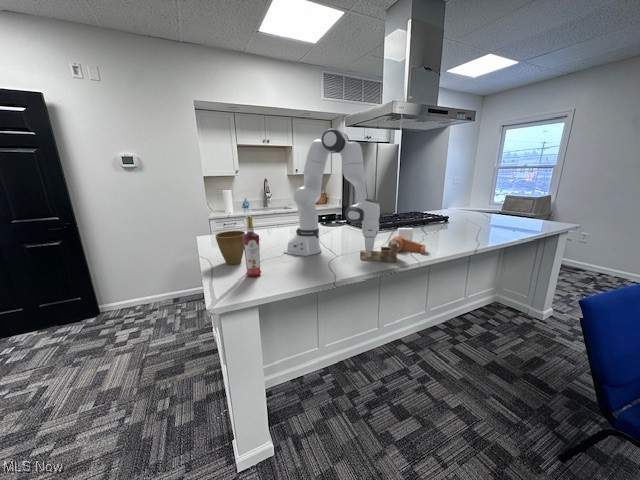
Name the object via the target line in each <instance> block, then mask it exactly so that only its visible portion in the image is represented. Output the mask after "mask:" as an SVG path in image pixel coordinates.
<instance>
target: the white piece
mask: <svg viewBox="0 0 640 480" xmlns="http://www.w3.org/2000/svg"><path fill="white" fill-rule="evenodd" d="M413 235H414V228H413V227H397V236H399V237H402V238H405V239H408V240H411V241H413ZM397 246H399V245H398V244H397Z"/></svg>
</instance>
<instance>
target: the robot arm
mask: <svg viewBox="0 0 640 480" xmlns="http://www.w3.org/2000/svg"><path fill="white" fill-rule="evenodd" d="M362 150H363V149H362V146H361V143H359V142H357V141H350V139H349V137H348V135H347V133H344V132H343V131H342V130H341V129H340V130H339V129H337V128H329V129H328V128H327V130H325V131H324V132H323V133H322V135H321V139H315V140H313V141H312V142H311V144H310V146H309V148H308V151H307V153H306V154H307V155H306V159H305V164H304V167H303V185H302V186H300V187H298V188H297V189H296V190H295V191H294V193H293V201H294V202H295V204H296V209H297V211H298V212H297V214H298V220H299V222H298V223H299V227H298V228H297V229H296V230H295V233H296V234H295V235H294V236H293V237H292V238H290V239H289V240H288V243H287V246H286V247H284V249H283V253H284V254H289V255H294V256H295V255H296V256H305V257H307V256H311V255H317V254H319V253H321V252H322V248H321V244H320V227H319V214H318V212H317V207H316V204H317V202H319V200H320V199H321V196H322V187H323V176H324V173H325V168H326V164H327V160H328V158H329V155H330V154H339V155H340V156H341V157H340V158H341V164H342V165H341V166H342V168H341V169H342V173H343V177H344V178H345V180H346V181H348V183H350V184H351V185H353V187H354V190H355V196H356V204H352V205H350V206H348V207H347V208H346V209H345V218H346V219H347V221H349V222H350V223H353V224H356V223H361V224H362V225H361V227H362V228H361V233H362V235H363V237H364V248H365V251H367V253H368V257H371V252H372V251H374V246H375V240H376V237H377V235H379V233H380V222H379V220H380V216H381V213H380V212H381V211H380V210H381V208H380V203H379V201H378V200H375V199H373V198H369V193H368V187H367V182H366V181H367V180H366V176H365V169H364V168H365V166H364V157H363V155H364V154H363V151H362Z"/></svg>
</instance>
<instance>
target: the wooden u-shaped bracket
mask: <svg viewBox="0 0 640 480" xmlns="http://www.w3.org/2000/svg"><path fill="white" fill-rule="evenodd" d="M390 241H391V247H388V246H380V251H381V260H380V262H381V263H382V262H383V263H395V264H396V263H397V259H398V258H397V256H398V255H397V254H398V252H397V240H392V239H391V240H390Z"/></svg>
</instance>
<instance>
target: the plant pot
mask: <svg viewBox="0 0 640 480" xmlns="http://www.w3.org/2000/svg"><path fill="white" fill-rule="evenodd" d="M245 234H246V232H245V231H243V230H230V231H229V230H228V231H222V232H219V233H216V234H215V241H216V242H217V245H218V249H219V251H220V254H221V256H222V258H223V260H224V262H225V263H226V264H227V265H229V266H232V265H233V266H234V265H238V264H241V263H242V260H243V257H244V253H245V252H244V245H243V238H242V237H243V236H244V235H245Z"/></svg>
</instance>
